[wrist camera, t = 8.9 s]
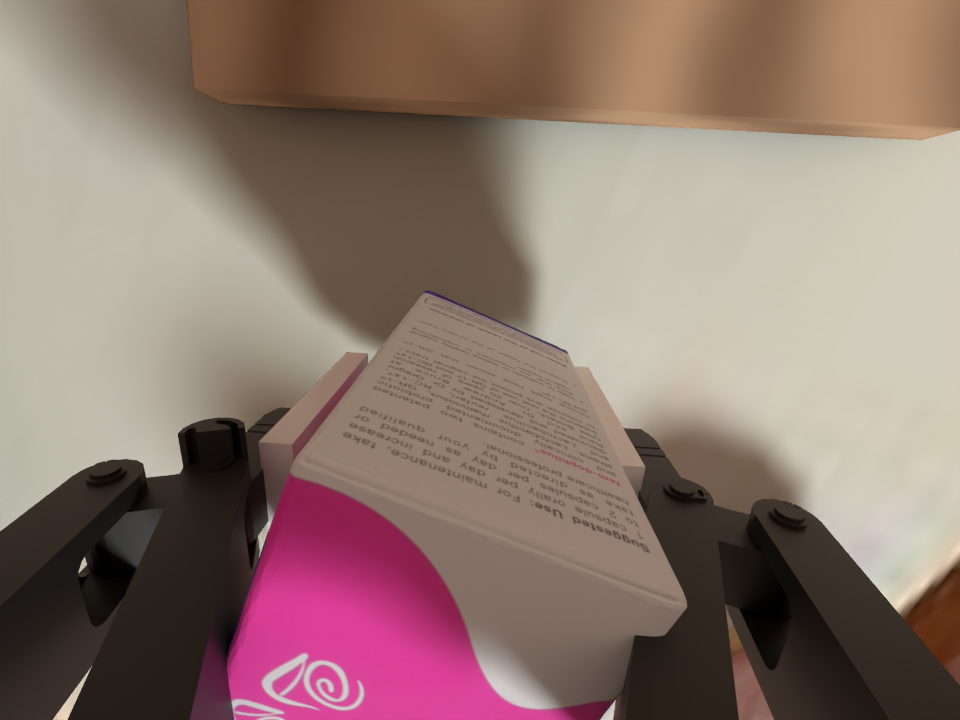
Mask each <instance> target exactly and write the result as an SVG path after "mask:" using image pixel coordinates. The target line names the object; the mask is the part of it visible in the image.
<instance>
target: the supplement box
mask: <svg viewBox="0 0 960 720" xmlns="http://www.w3.org/2000/svg"><path fill="white" fill-rule="evenodd" d="M686 608H687V601H686V598H685V595H684V592H683V590H682V588H681V586H680V584H679V582H678V580H677V578H676V576H675V574H674V572H673V570H672V568H671V566H670V564H669V562H668V560H667V558H666V556H665V554H664V551H663V549H662V547H661V545H660V543H659V541H658V539H657V537H656V535H655V533H654V531H653V529H652V527H651V525H650V523H649V521H648V519H647V517H646V515H645V513H644V511H643V508H642V506H641V504H640V502H639V500H638V498H637V496H636V494H635V492H634V490H633V488H632V486H631V484H630V482H629V480H628V478H627V476H626V474H625V472H624V469H623V467H622V465H621V463H620V461H619V459H618V457H617V455H616V453H615V451H614V449H613V447H612V445H611V443H610V440H609V438H608V436H607V434H606V432H605V430H604V428H603V426H602V424H601V422H600V420H599V418H598V415H597V413H596V411H595V409H594V407H593V405H592V403H591V401H590V399H589V397H588V394H587V392H586V390H585V388H584V386H583V384H582V382H581V380H580V378H579V376H578V374H577V372H576V370H575V368H574V366H573V364H572V361H571V359H570V357H569V355H568V352H567V351H565V350H563V349H561V348H559V347H557V346H555V345H553V344H550V343H548V342H546V341H543V340H541V339H539V338H536V337H534V336H531V335H529V334H527V333H524V332H522V331H520V330H518V329H515V328H513V327H511V326H509V325H506V324H504V323H502V322H500V321H497V320H495V319H493V318H491V317H488V316H486V315H484V314H481V313H479V312H477V311H475V310H473V309H471V308H468V307H466V306H464V305H462V304H459V303H457V302H455V301H452V300H450V299H448V298H445V297H443V296H441V295H439V294H436V293H434V292H431V291H425V292H424V293H423V294H422V295H421V296H420V297H419V299H418V300H417V301H416V303H415V304H414V305H413V307H412V308H411V309H410V310H409V312H408V313H407V314H406V315H405V317H404V318H403V319H402V321H401V322H400V323H399V324H398V326H397V327H396V328H395V330H394V331H393V332H392V333H391V335H390V336H389V337H388V339H387V340H386V341H385V342H384V343H383V345H382V346H381V347H380V349H379V350H378V351H377V353H376V354H375V356H374V357H373V358H372V359H371V361H370V362H369V363H368V365H367V366H366V367H365V369H364V370H363V371H362V372H361V374H360V375H359V376H358V378H357V379H356V380H355V382H354V383H353V384H352V386H351V387H350V388H349V389H348V391H347V392H346V393H345V395H344V396H343V397H342V399H341V400H340V401H339V403H338V404H337V405H336V407H335V408H334V409H333V411H332V412H331V413H330V414H329V415H328V417H327V419H326V420H325V421H324V422H323V423H322V424H321V426H320V427H319V428H318V430H317V431H316V433H315V434H314V435H313V437H312V438H311V439H310V440H309V442H308V443H307V444H306V445H305V447H304V448H303V449H302V450H301V452H300V453H299V454H298V455H297V457H296V459H295V460H294V462H293V464H292V467H291V469H290V472H289V475H288V477H287V480H286V483H285V485H284V488H283V490H282V493H281V496H280V499H279V502H278V505H277V508H276V511H275V514H274V517H273V520H272V523H271V525H270V528H269V531H268V533H267V536H266V539H265V543H264V546H263V549H262V552H261V555H260V557H259V560H258V563H257V566H256V569H255V572H254V575H253V578H252V580H251V583H250V586H249V589H248V592H247V595H246V597H245V601H244V604H243V607H242V610H241V613H240V616H239V619H238V622H237V625H236V628H235V631H234V634H233V637H232V640H231V643H230V646H229V648H228V651H227V673H228V682H229V688H230V694H231V701H232V707H233V713H234V719H235V720H600V719H601V717H602V716H603V715H604V713H605V712H606V711H607V710H608V708H609V707H610V706H611V705H612V703H613V702H614V701H615V700H616V698H617V697H618V696H619V695H620V693H621V692H622V690H623V686H624V682H625V677H626V673H627V668H628V664H629V659H630V654H631V650H632V645H633V641H634V636H635V635H640V636H653V637H655V636H663V635H665V634H666V633H667V632H668V631H669V630H670V628H671V627H672V626H673V625H674V623H675V622H676V621H677V620H678V618H679V617H680V616H681V615H682V613H683V612H684V611H685V610H686Z"/></svg>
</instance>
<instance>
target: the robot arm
mask: <svg viewBox="0 0 960 720" xmlns="http://www.w3.org/2000/svg"><path fill="white" fill-rule="evenodd" d="M367 365H368V354H366V353H350V352H347V353H346V354H345V355H344V356H343V357H342V358H341V359H340V360H339V361H338V362H337V363H336V364H335V365H334V366H333V367H332V368H331V369H330V370H329V371H328V372H327V373H326V374H325V375H324V376H323V377H322V378H321V379H320V380H319V381H318V382H317V383H316V384H315V385H314V386H313V387H312V388H311V389H310V390H309V391H308V392H307V393H306V394H305V395H304V396H303V397H302V398H301V399H300V400H299V401H298V402H297V403H296V404H295V405H294V406H293V407H292V408H278V409H276V410H274V411H272V412H270V413H268V414H265V415H264V416H263V417H262V418H261V419H260V420H259V421H258V422H256V423H255V425H253V426H252V427H251V428H250V429H249V430H248V432H246V433H245V426H244V423H243V422H242V421H240V420H238V419H233V418H213V419H207V420H202V421H199V422H196V423H193V424H191V425H189V426H187V427H185V428H183V429H182V430H181V431H180V432H179V433H178V438H179V444H180V450H181V455H182V461H183V469H182V471H181V473H180V474H176V475H168V476H159V477H150V478H146V476H145V471H144V466H143V464H142V463H140V462H139V461H137V460H128V459H123V460H109V461H107V462H105V461H104V462H100V463H97V464H95V465H94V466H91V467H89V468H86V469H84V470H82V471H80V472H79V473H77V474H75V475H74V476H72V477H71V478H70V479H68V480H67V481H66V482H64V483H63V484H62V485H60V486H59V487H58V488H56V489H55V490H54V491H53V492H51V493H50V494H49V495H47V496H46V497H45V498H43V499H42V500H41V501H40V502H38V503H37V504H36V505H34V506H33V507H32V508H30V509H29V510H28V511H26V512H25V513H24V514H23V515H21V516H20V517H19V518H17V519H16V520H15V521H13V522H12V523H11V524H9V525H8V526H7V527H6V528H4V529H3V530H2V531H0V720H53V718H54V717H55V716H56V714H57V713H58V711H59V710H60V709H61V707H62V706H63V705H64V703H65V702H66V700H67V699H68V698H69V696H70V695H71V694H72V692H73V691H74V690H75V688H76V687H77V685H78V684H79V683H80V681H81V680H82V679H83V677H84V676H85V675H86V673H87V672H88V670H89V669H90V668H91V666H92V668H91V670H90V672H89V674H88V676H87V678H86V681H85V683H84V685H83V687H82V689H81V692H80V694H79V696H78V698H77V700H76V703H75V705H74V707H73V709H72V711H71V713H70V716H69V718H68V720H235V719H234V713H233V707H232V701H231V694H230V688H229V682H228V673H227V651H228V648H229V646H230V643H231V640H232V637H233V634H234V631H235V628H236V625H237V622H238V619H239V616H240V613H241V610H242V607H243V604H244V601H245V597H246V595H247V592H248V589H249V586H250V583H251V580H252V578H253V575H254V572H255V569H256V566H257V563H258V560H259V553H260V549H259V541H258V535H259V534H260V532H261V531H262V529H263V528H264V526H265V525H266V524H267V526H268V531H269V528H270V525H271V523H272V520H273V517H274V514H275V511H276V508H277V505H278V502H279V499H280V496H281V493H282V490H283V488H284V485H285V483H286V480H287V477H288V475H289V472H290V469H291V467H292V464H293V462H294V460H295V459H296V457H297V455H298V454H299V453H300V452H301V450H302V449H303V448H304V447H305V445H306V444H307V443H308V442H309V440H310V439H311V438H312V437H313V435H314V434H315V433H316V431H317V430H318V428H319V427H320V426H321V424H322V423H323V422H324V421H325V420H326V419H327V417H328V415H329V414H330V413H331V412H332V411H333V409H334V408H335V407H336V405H337V404H338V403H339V401H340V400H341V399H342V397H343V396H344V395H345V393H346V392H347V391H348V389H349V388H350V387H351V386H352V384H353V383H354V382H355V380H356V379H357V378H358V376H359V375H360V374H361V372H362V371H363V370H364V369H365V367H366V366H367ZM574 368H575V370H576V372H577V374H578V376H579V378H580V380H581V382H582V384H583V386H584V388H585V390H586V392H587V394H588V397H589V399H590V401H591V403H592V405H593V407H594V409H595V411H596V413H597V415H598V418H599V420H600V422H601V424H602V426H603V428H604V430H605V432H606V434H607V436H608V438H609V440H610V443H611V445H612V447H613V449H614V451H615V453H616V455H617V457H618V459H619V461H620V463H621V465H622V467H623V469H624V472H625V474H626V476H627V478H628V480H629V482H630V484H631V486H632V488H633V490H634V492H635V494H636V496H637V498H638V500H639V502H640V504H641V506H642V508H643V511H644V513H645V515H646V517H647V519H648V521H649V523H650V525H651V527H652V529H653V531H654V533H655V535H656V537H657V539H658V541H659V543H660V545H661V547H662V549H663V551H664V554H665V556H666V558H667V560H668V562H669V564H670V566H671V568H672V570H673V572H674V574H675V576H676V578H677V580H678V582H679V584H680V586H681V588H682V590H683V592H684V595H685V598H686V601H687V608H686V610H685V611H684V612H683V613H682V615H681V616H680V617H679V618H678V620H677V621H676V622H675V623H674V625H673V626H672V627H671V628H670V630H669V631H668V632H667V633H666V634H665V635H663V636H655V637H653V636H640V635H635V636H634V641H633V645H632V650H631V654H630V659H629V664H628V668H627V673H626V677H625V682H624V686H623V690H622V692H621V693H620V695H619V696H618V697H617V698H616V703H615V710H614V718H613V720H739V715H738V707H737V699H736V690H735V682H734V673H733V665H732V656H731V648H730V639H729V631H728V622H727V614H726V609H727V611H728V613H729V616H730V618H731V620H732V623H733V625H734V627H735V630H736V632H737V634H738V637H739V639H740V641H741V644H742V646H743V648H744V651H745V653H746V655H747V658H748V660H749V662H750V665H751V667H752V669H753V672H754V674H755V676H756V679H757V681H758V683H759V686H760V688H761V690H762V693H763V695H764V697H765V700H766V702H767V704H768V707H769V709H770V711H771V714H772V716H773V718H774V720H960V685H959V684H958V683H957V682H956V681H955V679H954V678H953V677H952V676H951V675H950V673H949V672H948V671H947V670H946V669H945V668H944V666H943V665H942V664H941V663H940V662H939V660H938V659H937V658H936V657H935V656H934V655H933V653H932V652H931V651H930V650H929V649H928V647H927V646H926V645H925V644H924V643H923V642H922V640H921V639H920V638H919V637H918V636H917V635H916V633H915V632H914V631H913V630H912V629H911V627H910V626H909V625H908V624H907V623H906V622H905V620H904V619H903V618H902V617H901V616H900V614H899V613H898V612H897V611H896V610H895V609H894V607H893V606H892V605H891V604H890V603H889V601H888V600H887V599H886V598H885V597H884V596H883V594H882V593H881V592H880V591H879V590H878V588H877V587H876V586H875V585H874V584H873V583H872V581H871V580H870V579H869V578H868V577H867V576H866V574H865V573H864V572H863V571H862V570H861V568H860V567H859V566H858V565H857V564H856V563H855V561H854V560H853V559H852V558H851V557H850V555H849V554H848V553H847V552H846V551H845V550H844V548H843V547H842V546H841V545H840V544H839V542H838V541H837V540H836V539H835V538H834V537H833V535H832V534H831V533H830V532H829V531H828V530H827V528H826V527H825V526H824V525H823V524H822V522H820V521H819V520H818V519H817V518H816V517H815V516H814V515H812V514H811V513H809V512H807V511H806V510H804V509H802V508H801V507H799V506H797V505H795V504H792V503H789V502H786V501H779V500H774V499H762V500H759V501H756V502H755V503H754V505H753V507H752V510H751V513H750V515H748V514H744V513H740V512H736V511H732V510H728V509H724V508H721V507H718V506H715V505H714V504H713V499H712V497H711V495H710V493H709V492H707V491H706V490H705V489H704V488H703V487H701V486H700V485H698V484H696V483H694V482H692V481H689V480H686V479H683V478H681V477H680V476H679V474H678V473H677V471H676V470H675V468H674V467H673V465H672V464H671V463H670V461H669V460H668V458H666V455H665V454H664V452H663V451H662V450H660V446H659V445H658V443H657V442H656V441H655V439H654V438H653V437H651V436H650V435H649V434H647V433H646V432H644V431H643V430H641V429H626V428H623V427H622V425H621V424H620V422H619V420H618V418H617V417H616V415H615V413H614V411H613V410H612V408H611V406H610V404H609V403H608V401H607V399H606V397H605V396H604V394H603V392H602V390H601V389H600V387H599V385H598V384H597V382H596V380H595V378H594V377H593V375H592V373H591V371H590V370H589V368H588V367H575V366H574ZM84 557H85V558H86V562H87V566H86V567H85V568H84V569H83V570H82V571H81V572H80V573H79V574H78V571H79V568H80V565H81V562H82V560H83V558H84ZM725 604H726V605H725Z"/></svg>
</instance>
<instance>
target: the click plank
mask: <svg viewBox="0 0 960 720" xmlns="http://www.w3.org/2000/svg"><path fill="white" fill-rule="evenodd" d="M187 5H188V17H189V30H190V43H191V56H192V68H193V81H194V89H196V90H198V91H200V92H202V93H204V94H206V95H208V96H210V97H212V98H214V99H216V100H218V101H220V102H222V103H224V104H243V105H262V106H281V107H300V108H319V109H338V110H357V111H376V112H395V113H414V114H433V115H452V116H471V117H490V118H509V119H528V120H547V121H566V122H585V123H604V124H623V125H642V126H661V127H680V128H699V129H718V130H737V131H756V132H774V133H793V134H812V135H831V136H850V137H869V138H888V139H907V140H923V139H927V138H931V137H935V136H939V135H943V134H947V133H950V132H954V131H958V130H960V0H187Z"/></svg>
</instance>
